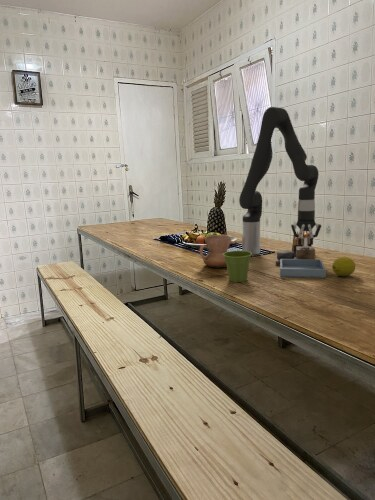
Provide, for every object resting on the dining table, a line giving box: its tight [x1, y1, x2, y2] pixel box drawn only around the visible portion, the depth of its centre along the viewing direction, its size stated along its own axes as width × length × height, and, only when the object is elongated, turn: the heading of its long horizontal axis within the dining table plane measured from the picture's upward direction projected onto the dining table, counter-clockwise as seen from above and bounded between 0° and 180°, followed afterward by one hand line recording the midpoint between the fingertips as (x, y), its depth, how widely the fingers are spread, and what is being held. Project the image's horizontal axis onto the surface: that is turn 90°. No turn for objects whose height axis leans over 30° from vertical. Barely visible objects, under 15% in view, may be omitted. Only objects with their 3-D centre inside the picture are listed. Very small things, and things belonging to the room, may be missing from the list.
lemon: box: [331, 256, 356, 277], centre depth 156 cm, size 11×8×8 cm
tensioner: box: [275, 246, 316, 266], centre depth 181 cm, size 18×12×7 cm, turn 77°
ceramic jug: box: [199, 234, 236, 269], centre depth 181 cm, size 18×14×14 cm
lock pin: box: [302, 232, 309, 249], centre depth 179 cm, size 3×3×12 cm
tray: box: [279, 258, 327, 279], centre depth 166 cm, size 18×18×4 cm
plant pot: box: [223, 250, 253, 283], centre depth 156 cm, size 12×12×11 cm
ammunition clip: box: [291, 231, 312, 254], centre depth 199 cm, size 11×2×12 cm, turn 105°
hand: (305, 245), depth 179 cm, fingers open, 4 cm apart
